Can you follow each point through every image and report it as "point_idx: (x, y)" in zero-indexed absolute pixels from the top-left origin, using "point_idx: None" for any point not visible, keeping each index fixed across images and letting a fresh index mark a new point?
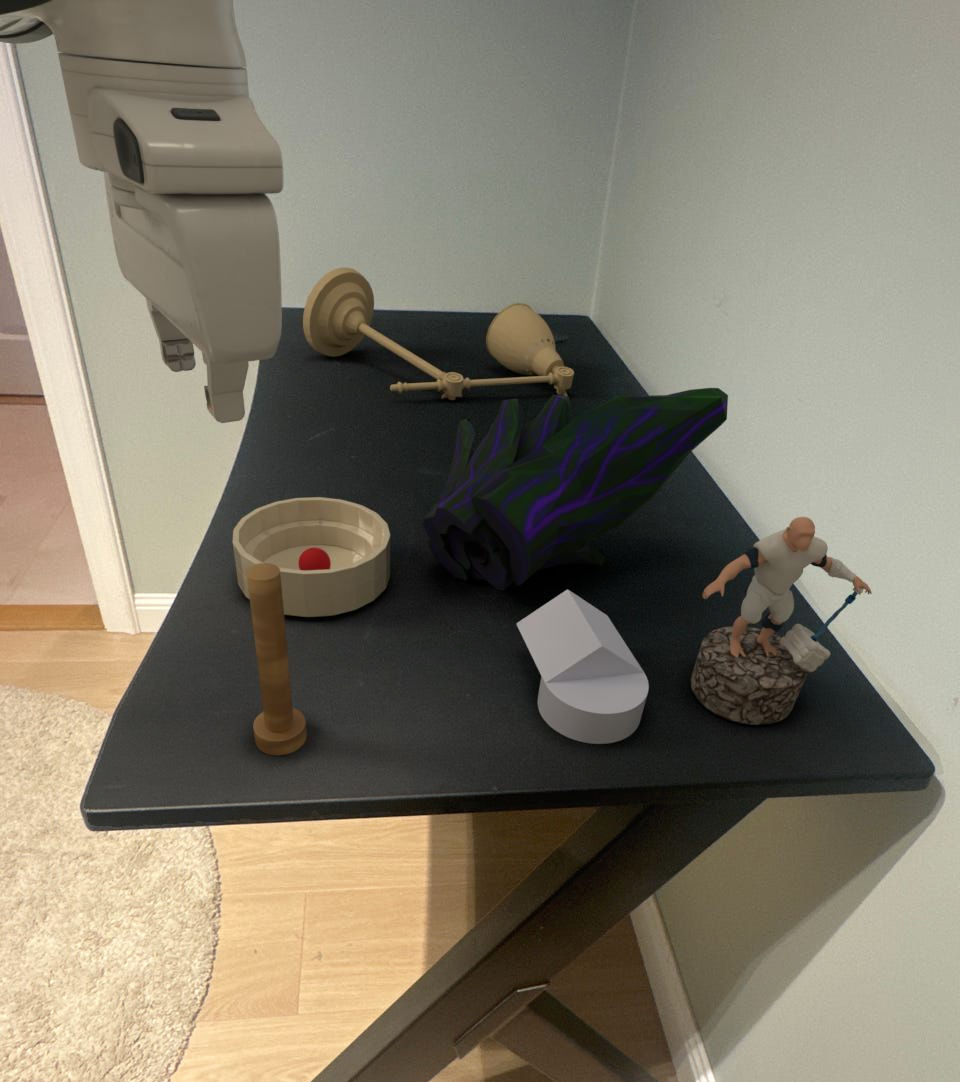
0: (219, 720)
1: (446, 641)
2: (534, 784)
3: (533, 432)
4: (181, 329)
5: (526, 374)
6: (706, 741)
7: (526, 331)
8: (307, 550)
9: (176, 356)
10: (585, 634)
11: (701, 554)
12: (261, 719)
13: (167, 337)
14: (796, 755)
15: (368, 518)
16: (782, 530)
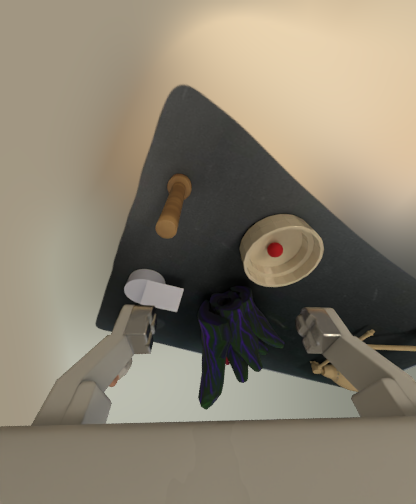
0: (205, 165)
1: (203, 265)
2: (118, 251)
3: (239, 360)
4: (89, 445)
5: None
6: (120, 297)
7: (346, 381)
8: (279, 252)
9: (310, 326)
10: (151, 303)
11: (200, 340)
12: (185, 182)
13: (339, 344)
14: (107, 309)
15: (278, 282)
16: (120, 376)
